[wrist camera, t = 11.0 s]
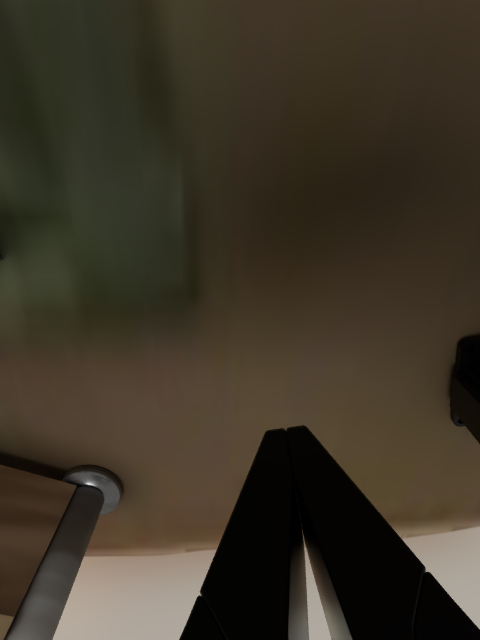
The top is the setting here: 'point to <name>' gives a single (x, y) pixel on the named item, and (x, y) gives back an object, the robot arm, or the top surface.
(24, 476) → the gate
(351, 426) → the top surface
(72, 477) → the gate frame
